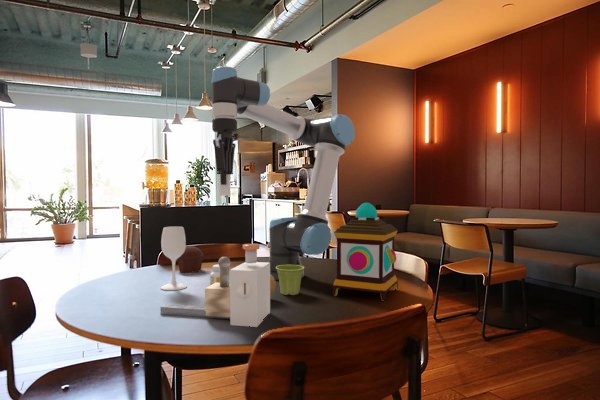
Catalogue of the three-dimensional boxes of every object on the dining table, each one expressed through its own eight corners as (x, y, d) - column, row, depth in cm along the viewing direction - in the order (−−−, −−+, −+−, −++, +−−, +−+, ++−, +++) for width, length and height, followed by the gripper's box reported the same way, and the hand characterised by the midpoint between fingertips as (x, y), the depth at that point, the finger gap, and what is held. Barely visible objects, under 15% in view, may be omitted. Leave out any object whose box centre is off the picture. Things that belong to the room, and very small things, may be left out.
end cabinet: (229, 326, 103) (229, 270, 102) (246, 311, 115) (246, 261, 115) (255, 328, 101) (255, 271, 101) (270, 312, 114) (270, 262, 113)
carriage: (205, 316, 108) (204, 258, 107) (215, 308, 114) (215, 254, 114) (233, 318, 106) (233, 259, 106) (243, 310, 113) (243, 255, 112)
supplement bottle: (230, 294, 134) (230, 264, 133) (222, 298, 129) (221, 267, 128) (215, 293, 135) (215, 263, 135) (207, 297, 130) (206, 266, 130)
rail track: (160, 314, 112) (160, 306, 112) (166, 311, 115) (166, 303, 115) (236, 319, 108) (236, 311, 108) (240, 316, 111) (240, 308, 111)
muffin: (199, 273, 166) (199, 248, 166) (172, 273, 167) (172, 248, 166) (206, 267, 178) (206, 244, 178) (181, 267, 179) (181, 244, 178)
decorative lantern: (347, 283, 149) (348, 201, 149) (402, 289, 141) (403, 202, 140) (326, 296, 131) (327, 202, 131) (388, 304, 123) (389, 204, 122)
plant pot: (290, 288, 142) (290, 263, 142) (310, 293, 135) (310, 267, 135) (269, 293, 135) (269, 266, 135) (289, 298, 129) (289, 271, 128)
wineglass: (179, 291, 137) (178, 228, 137) (155, 290, 139) (155, 228, 139) (191, 285, 146) (190, 226, 145) (168, 284, 148) (168, 225, 147)
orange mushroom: (240, 263, 107) (240, 245, 106) (245, 260, 111) (245, 243, 111) (256, 264, 106) (256, 246, 106) (261, 261, 110) (261, 244, 110)
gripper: (221, 122, 134) (221, 195, 134) (204, 115, 121) (204, 195, 122) (243, 121, 132) (243, 195, 133) (228, 114, 119) (228, 195, 120)
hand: (225, 195), depth 127 cm, fingers closed
